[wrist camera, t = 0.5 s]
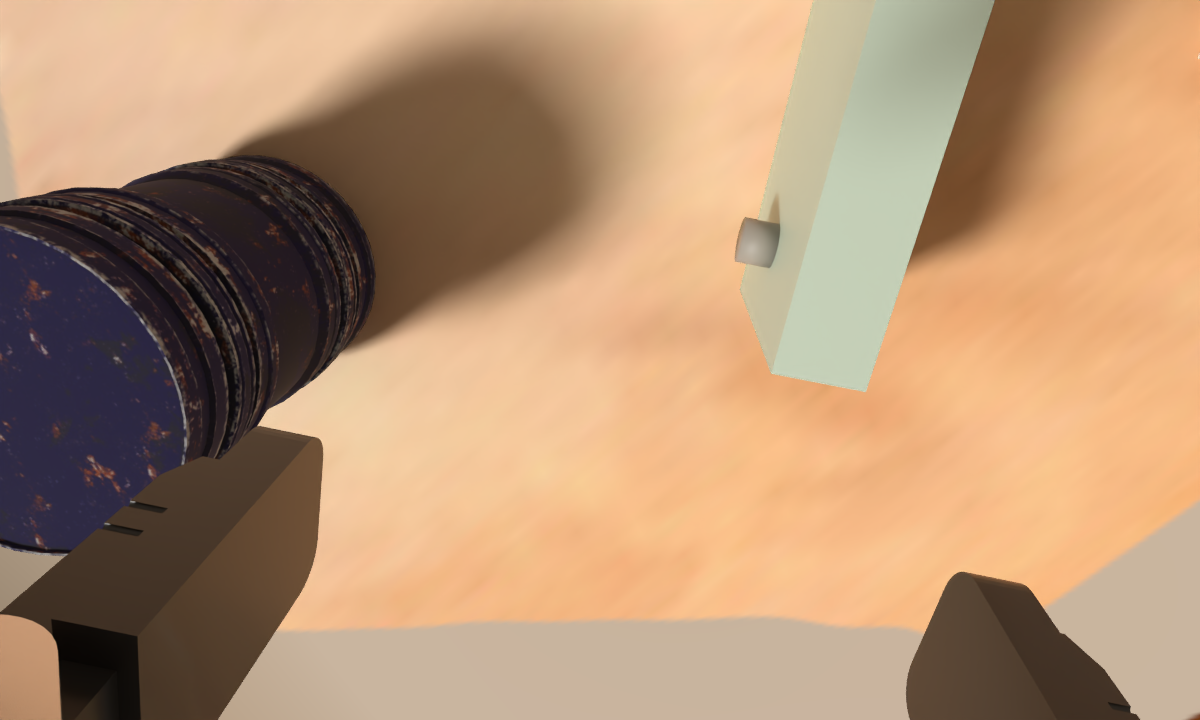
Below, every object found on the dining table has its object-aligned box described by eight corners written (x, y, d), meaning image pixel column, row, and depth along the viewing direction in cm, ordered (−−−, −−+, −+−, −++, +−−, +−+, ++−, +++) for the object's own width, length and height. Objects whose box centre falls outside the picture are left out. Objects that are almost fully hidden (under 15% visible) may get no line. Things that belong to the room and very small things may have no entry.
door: (712, 283, 34) (733, 366, 24) (846, -277, 27) (948, -461, 17) (807, 301, 34) (865, 392, 24) (968, -254, 27) (1135, -425, 17)
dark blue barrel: (283, 105, 32) (-1, 135, 18) (422, 304, 35) (267, 462, 21) (112, 229, 35) (-255, 339, 21) (255, 406, 37) (15, 610, 23)
